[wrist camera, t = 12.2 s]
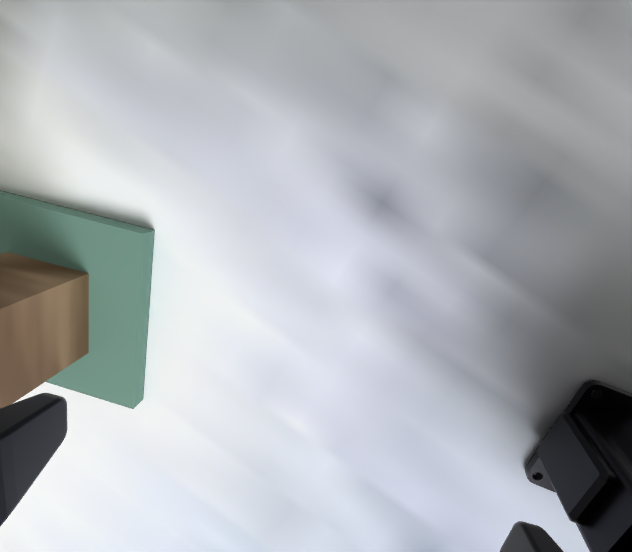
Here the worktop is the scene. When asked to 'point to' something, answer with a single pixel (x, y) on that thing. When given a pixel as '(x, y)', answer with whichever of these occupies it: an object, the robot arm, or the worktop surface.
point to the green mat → (93, 288)
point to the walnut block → (39, 322)
